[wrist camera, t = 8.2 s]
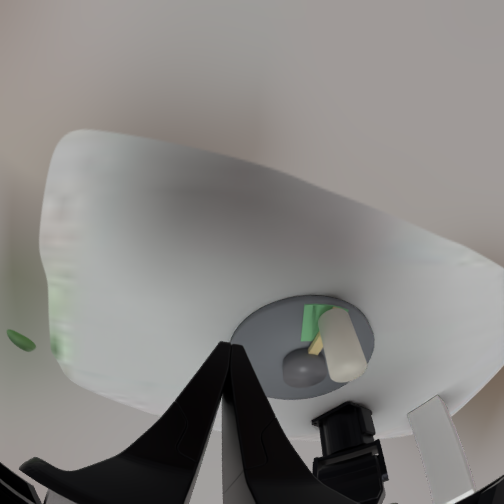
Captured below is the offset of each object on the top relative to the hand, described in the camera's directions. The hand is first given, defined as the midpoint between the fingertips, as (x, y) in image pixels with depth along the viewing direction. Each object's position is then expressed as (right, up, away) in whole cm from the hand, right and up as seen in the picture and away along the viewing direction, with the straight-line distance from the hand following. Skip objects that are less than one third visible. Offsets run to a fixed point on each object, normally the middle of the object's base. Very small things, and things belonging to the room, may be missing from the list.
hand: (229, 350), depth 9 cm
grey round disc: (+6, -6, +15) cm, 17 cm away
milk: (+30, -22, +23) cm, 44 cm away
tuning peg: (+6, -4, +13) cm, 15 cm away
